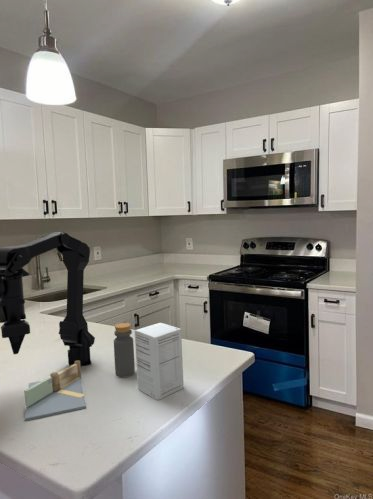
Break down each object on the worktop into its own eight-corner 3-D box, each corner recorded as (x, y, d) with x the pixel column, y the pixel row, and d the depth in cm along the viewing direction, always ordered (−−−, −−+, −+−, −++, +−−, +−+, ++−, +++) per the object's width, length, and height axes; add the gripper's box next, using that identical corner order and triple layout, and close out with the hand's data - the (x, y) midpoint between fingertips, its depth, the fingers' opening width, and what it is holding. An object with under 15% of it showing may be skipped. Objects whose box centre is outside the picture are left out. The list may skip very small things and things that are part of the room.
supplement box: (163, 377, 106) (161, 321, 104) (184, 388, 99) (182, 328, 97) (136, 389, 99) (133, 329, 98) (157, 401, 92) (154, 337, 91)
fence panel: (49, 391, 98) (48, 376, 97) (52, 391, 97) (51, 377, 97) (25, 405, 90) (23, 390, 90) (28, 406, 90) (27, 391, 89)
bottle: (117, 379, 106) (115, 329, 104) (113, 371, 111) (110, 324, 110) (137, 375, 108) (134, 326, 107) (132, 367, 113) (129, 321, 112)
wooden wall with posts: (82, 377, 108) (81, 360, 107) (55, 394, 98) (54, 376, 97) (77, 376, 108) (75, 359, 108) (49, 393, 98) (48, 375, 98)
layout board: (80, 375, 109) (80, 373, 109) (87, 407, 90) (87, 405, 90) (29, 385, 104) (29, 382, 104) (24, 421, 85) (24, 418, 85)
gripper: (-24, 293, 98) (-19, 349, 100) (-25, 307, 82) (-20, 373, 83) (21, 288, 104) (25, 341, 105) (28, 300, 88) (32, 362, 89)
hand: (15, 353), depth 95 cm, fingers closed
